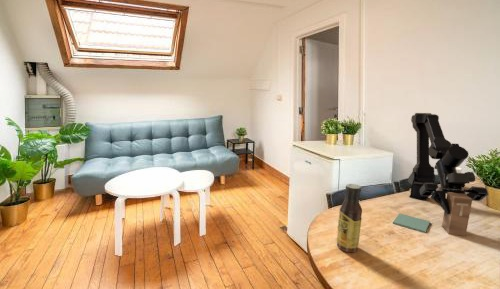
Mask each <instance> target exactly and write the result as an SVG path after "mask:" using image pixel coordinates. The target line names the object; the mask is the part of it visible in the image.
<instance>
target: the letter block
mask: <svg viewBox="0 0 500 289" xmlns="http://www.w3.org/2000/svg"><path fill="white" fill-rule="evenodd" d="M446 200H447V203H448V206H449V211H450V214H447V213H446V212H445V211H444V210H443V215H442V216H443V217H442V223H441V228H442V229H443V230H444V231H445V232H446V233H447V234H448V235H457V236H461V237H462V236H463V237H466V236H467V231H468V230H467V229H468V224H469V220H470V215H471V214H470V213H471V208H472V202H473V201H472V198H470V197H469V196H467V195H466V194H463V193H453V192H447V194H446Z"/></svg>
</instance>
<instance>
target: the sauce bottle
mask: <svg viewBox="0 0 500 289" xmlns="http://www.w3.org/2000/svg"><path fill="white" fill-rule="evenodd" d="M361 191H362V187H361V186H360V185H359V184H356V183H348V184H346V185H345V197H344V200H343V202H342V204H341V206H340V208H339V212H338V222H337V223H338V224H337V233H336V245H337V248H338V249H339V250H341V251H342V252H345V253H355V252H357V251H358V247H359V244H360V235H361V227H362V215H363V209H362V208H363V207H362V206H361V204H360V193H361Z"/></svg>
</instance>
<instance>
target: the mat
mask: <svg viewBox="0 0 500 289" xmlns="http://www.w3.org/2000/svg"><path fill="white" fill-rule="evenodd" d="M430 223H431V221H430V220H427V219H422V218H419V217H415V216H412V215H408V214H404V213H401V212H400V213H398V215H397V216H396V217H395V218H394V220H393V221H392V224H393V225H396V226H400V227H404V228H407V229H411V230H414V231H417V232H420V233H424V234H425V233H426V232H427V230H428V228H429V226H430Z"/></svg>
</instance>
